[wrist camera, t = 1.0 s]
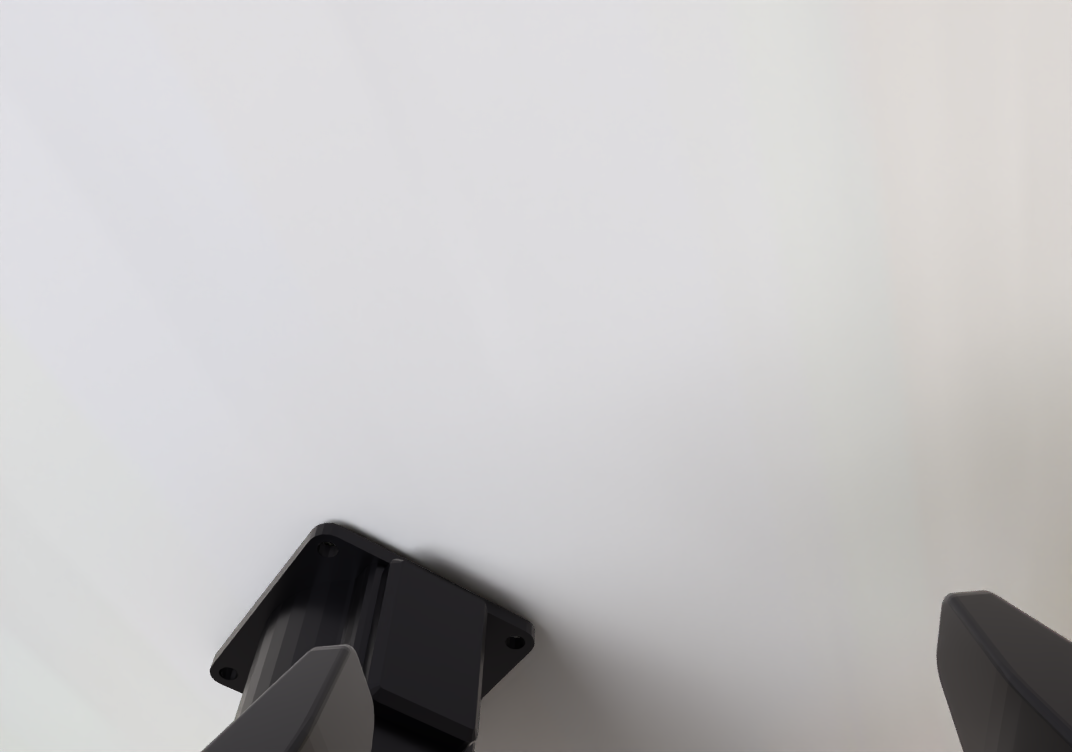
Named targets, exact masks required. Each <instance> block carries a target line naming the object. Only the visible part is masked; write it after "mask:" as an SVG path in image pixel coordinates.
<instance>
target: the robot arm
mask: <svg viewBox="0 0 1072 752" xmlns="http://www.w3.org/2000/svg"><path fill="white" fill-rule="evenodd" d="M323 542H330V543H333V544H334V545H336V546H328V545H325V544H324V543H323ZM534 634H535V629H534V627H533V625H532V624H531V623H530V622H529V621H527V620H526V619H524V618H522V617H520V616H518V615H516V614H514V613H512V612H510V611H508V610H506V609H504V608H502V607H500V606H498V605H496V604H494V603H492V602H490V601H488V600H486V599H484V598H482V597H480V596H478V595H476V594H474V593H472V592H470V591H468V590H466V589H464V588H462V587H460V586H459V585H457V584H455V583H453V582H451V581H449V580H447V579H445V578H443V577H441V576H439V575H437V574H435V573H433V572H431V571H429V570H427V569H425V568H423V567H421V566H419V565H417V564H415V563H413V562H411V561H409V560H407V559H405V558H403V557H401V556H399V555H397V554H395V553H393V552H391V551H389V550H387V549H385V548H383V547H381V546H379V545H377V544H375V543H373V542H371V541H370V540H368V539H366V538H364V537H362V536H360V535H358V534H356V533H354V532H352V531H350V530H348V529H346V528H344V527H342V526H339V525H336V524H333V523H324V524H320V525H317V526H316V527H315V528H314V529H312V531H311V532H310V533H309V535H308V536H307V537H306V539H305V540H304V541H303V542H302V544H301V545H300V546H299V548H298V549H297V550H296V551H295V553H294V554H293V555H292V557H291V558H290V559H289V560H288V562H287V563H286V564H285V566H284V567H283V568H282V569H281V571H280V572H279V573H278V575H277V576H276V577H275V579H274V580H273V581H272V582H271V584H270V585H269V586H268V588H267V589H266V590H265V591H264V593H263V594H262V595H261V597H260V598H259V599H258V600H257V602H256V603H255V604H254V606H253V607H252V608H251V609H250V611H249V612H248V613H247V615H246V616H245V617H244V618H243V620H242V621H241V622H240V624H239V625H238V626H237V628H236V629H235V630H234V631H233V633H232V634H231V635H230V637H229V638H228V639H227V640H226V642H225V643H224V644H223V646H222V647H221V648H220V649H219V651H218V652H217V653H216V655H215V657H214V660H213V663H212V665H211V668H210V675H211V677H212V678H213V679H214V680H215V681H217V682H218V683H220V684H222V685H224V686H227V687H229V688H231V689H233V690H236V691H238V692H240V693H243V695H242V698H241V701H240V704H239V707H238V710H237V713H236V717H235V720H234V721H233V722H232V723H231V724H230V725H229V726H228V727H227V728H226V729H225V730H224V731H223V732H222V733H221V734H220V735H218V736H217V737H216V738H215V739H214V740H213V741H212V742H211V743H210V744H209V745H208V746H207V747H206V748H205V749H204V750H202V751H201V752H474V748H475V741H476V739H477V736H478V728H479V715H480V702H481V699H482V698H483V697H484V696H485V695H486V694H487V693H488V692H489V691H490V690H491V689H492V688H493V687H494V686H495V685H496V684H497V683H498V682H499V681H500V680H501V679H502V678H503V677H504V676H505V675H506V674H507V673H509V672H510V671H511V670H512V669H513V668H514V667H515V666H516V665H517V664H518V663H519V662H520V661H521V660H522V659H523V658H524V657H525V656H526V655H527V654H528V653H529V652H530V651H531V650H532V648H533V647H534ZM510 636H519V637H517V638H514V637H510ZM936 656H937V667H938V673H939V678H940V682H941V685H942V688H943V691H944V694H945V697H946V700H947V703H948V706H949V709H950V712H951V715H952V718H953V722H954V725H955V728H956V731H957V734H958V737H959V740H960V743H961V746H962V749H963V752H1072V642H1071V641H1069V640H1067V639H1066V638H1064V637H1063V636H1061V635H1059V634H1058V633H1056V632H1055V631H1053V630H1051V629H1050V628H1048V627H1047V626H1045V625H1043V624H1042V623H1040V622H1039V621H1037V620H1036V619H1034V618H1032V617H1031V616H1029V615H1028V614H1026V613H1024V612H1023V611H1021V610H1020V609H1018V608H1016V607H1015V606H1013V605H1012V604H1010V603H1008V602H1007V601H1005V600H1004V599H1002V598H1000V597H999V596H997V595H996V594H993V593H991V592H989V591H984V590H982V591H970V592H958V593H950V594H948V595H947V596H946V597H944V600H943V602H942V607H941V616H940V625H939V634H938V643H937V655H936Z"/></svg>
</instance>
